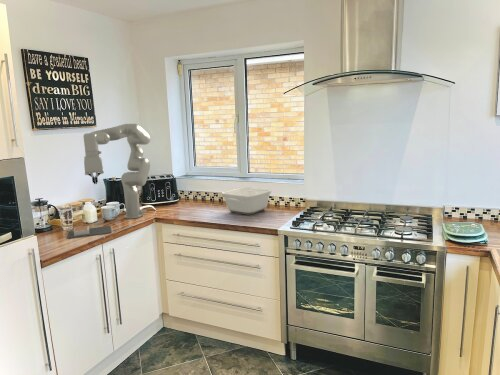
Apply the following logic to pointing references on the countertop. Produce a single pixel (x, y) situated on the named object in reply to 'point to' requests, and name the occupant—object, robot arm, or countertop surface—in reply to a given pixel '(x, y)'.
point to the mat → (91, 232)
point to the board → (81, 230)
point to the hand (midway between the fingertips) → (95, 183)
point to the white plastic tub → (246, 200)
